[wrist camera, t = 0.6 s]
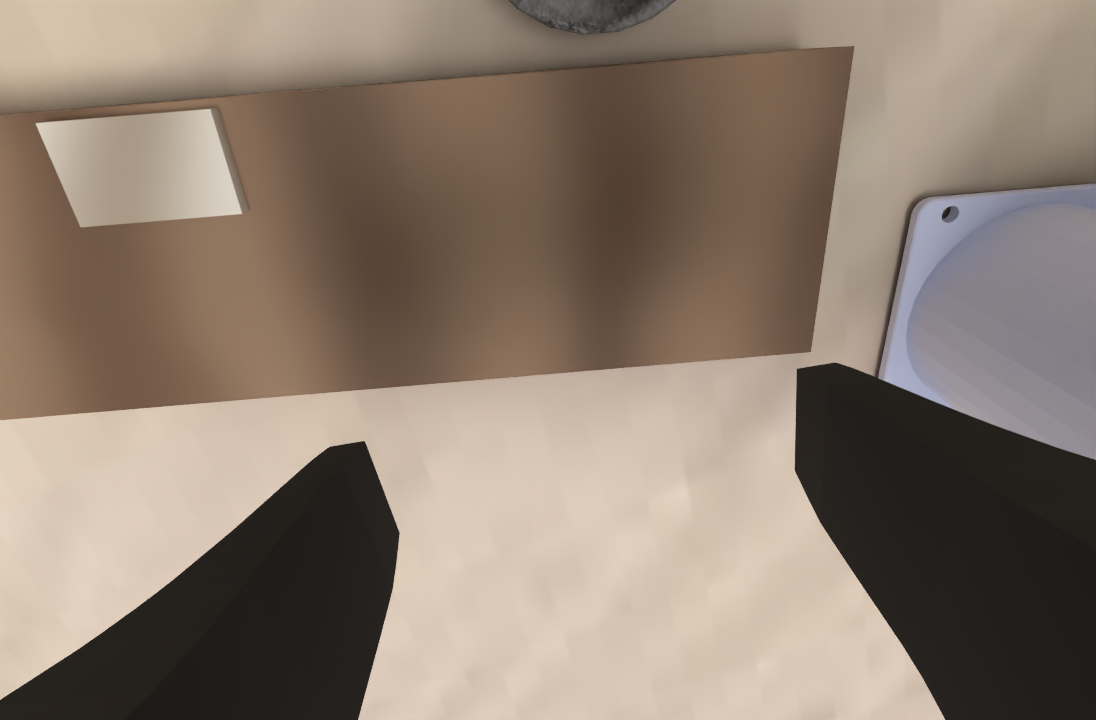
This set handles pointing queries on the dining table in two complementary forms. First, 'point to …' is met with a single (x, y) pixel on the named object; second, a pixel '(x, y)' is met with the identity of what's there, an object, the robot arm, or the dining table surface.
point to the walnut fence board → (415, 231)
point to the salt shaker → (591, 13)
